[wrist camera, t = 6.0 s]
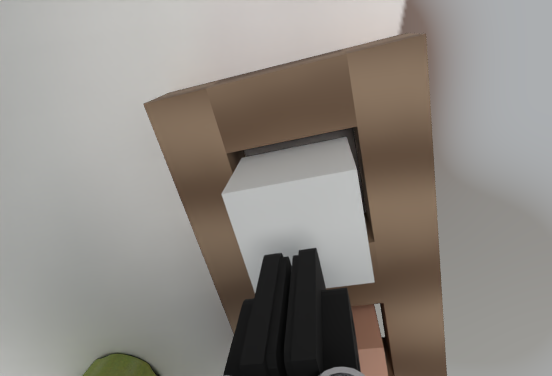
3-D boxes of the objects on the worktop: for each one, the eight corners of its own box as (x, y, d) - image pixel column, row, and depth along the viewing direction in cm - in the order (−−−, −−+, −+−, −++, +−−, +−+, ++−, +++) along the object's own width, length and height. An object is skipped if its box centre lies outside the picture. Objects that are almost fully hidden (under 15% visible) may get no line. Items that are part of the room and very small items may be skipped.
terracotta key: (289, 300, 21) (284, 355, 18) (371, 290, 20) (383, 347, 17) (305, 356, 23) (304, 416, 19) (380, 349, 22) (394, 412, 19)
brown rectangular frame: (169, 92, 18) (143, 104, 15) (406, 33, 16) (425, 33, 13) (270, 375, 26) (265, 415, 24) (433, 363, 24) (448, 405, 21)
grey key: (241, 157, 16) (221, 194, 13) (346, 136, 15) (356, 169, 12) (267, 243, 18) (256, 296, 15) (361, 229, 17) (374, 282, 14)
